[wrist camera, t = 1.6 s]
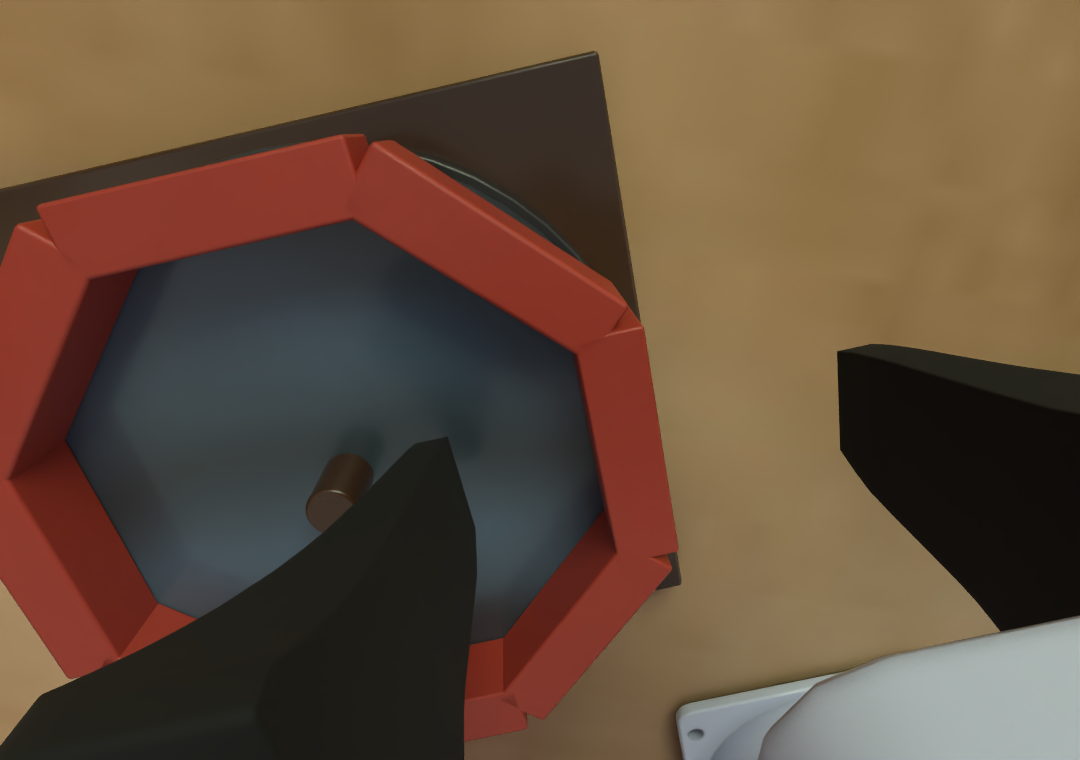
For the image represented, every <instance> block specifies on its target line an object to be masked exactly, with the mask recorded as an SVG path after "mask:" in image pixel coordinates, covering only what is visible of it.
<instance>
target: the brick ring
mask: <svg viewBox="0 0 1080 760" xmlns="http://www.w3.org/2000/svg"><path fill="white" fill-rule="evenodd" d="M36 208H37V212H38V214H39V216H40V218H41V219H39V220H34V221H29V222H24V223H19V224H18V225H16V226H15V228H14V230H13V233H12V236H11V238H10V241H9V244H8V247H7V250H6V252H5V255H4V258H3V261H2V264H1V267H0V579H1V581H2V582H3V584H4V585H5V587H6V588H7V589H8V591H9V592H10V594H11V595H12V597H13V598H14V600H15V601H16V603H17V604H18V606H19V607H20V609H21V610H22V612H23V613H24V615H25V616H26V618H27V619H28V620H29V622H30V623H31V625H32V626H33V628H34V629H35V631H36V632H37V634H38V635H39V637H40V638H41V640H42V641H43V643H44V644H45V646H46V647H47V649H48V650H49V651H50V653H51V654H52V656H53V657H54V659H55V660H56V662H57V663H58V665H59V666H60V668H61V669H62V671H63V672H64V674H65V675H66V677H67V678H69V679H73V678H78V677H82V676H85V675H87V674H89V673H91V672H93V671H95V670H98V669H100V668H102V667H104V666H106V665H108V664H111V663H113V662H115V661H117V660H119V659H121V658H124V657H126V656H128V655H130V654H132V653H134V652H136V651H138V650H140V649H142V648H144V647H146V646H148V645H150V644H152V643H154V642H156V641H158V640H160V639H161V638H163V637H165V636H167V635H169V634H171V633H173V632H175V631H177V630H178V629H180V628H182V627H184V626H186V625H188V624H189V623H191V622H193V621H195V620H196V618H194V617H191V616H189V615H186V614H184V613H181V612H179V611H177V610H174V609H172V608H169V607H167V606H164V605H162V604H159V603H158V602H157V601H156V599H155V597H154V595H153V594H152V592H151V590H150V588H149V587H148V585H147V583H146V581H145V580H144V578H143V576H142V574H141V573H140V571H139V569H138V567H137V565H136V564H135V562H134V560H133V558H132V557H131V555H130V553H129V551H128V550H127V548H126V546H125V544H124V543H123V541H122V539H121V537H120V536H119V534H118V532H117V530H116V528H115V527H114V525H113V523H112V521H111V520H110V518H109V516H108V514H107V513H106V511H105V509H104V507H103V506H102V504H101V502H100V500H99V499H98V497H97V495H96V493H95V491H94V490H93V488H92V486H91V484H90V483H89V481H88V479H87V477H86V476H85V474H84V472H83V470H82V469H81V467H80V465H79V463H78V462H77V460H76V458H75V456H74V454H73V453H72V451H71V449H70V447H69V446H68V444H67V442H66V440H65V438H66V436H67V433H68V431H69V429H70V427H71V424H72V422H73V420H74V417H75V415H76V413H77V410H78V408H79V406H80V403H81V401H82V399H83V396H84V394H85V392H86V389H87V387H88V385H89V382H90V380H91V378H92V375H93V373H94V371H95V368H96V366H97V364H98V361H99V359H100V357H101V354H102V352H103V350H104V347H105V345H106V343H107V340H108V338H109V336H110V333H111V331H112V329H113V327H114V324H115V322H116V320H117V317H118V315H119V313H120V310H121V308H122V306H123V303H124V301H125V299H126V296H127V294H128V292H129V289H130V287H131V285H132V282H133V280H134V278H135V275H136V273H137V271H138V269H140V268H145V267H149V266H153V265H158V264H162V263H167V262H171V261H175V260H180V259H184V258H189V257H193V256H197V255H202V254H206V253H211V252H215V251H219V250H224V249H228V248H232V247H237V246H241V245H246V244H250V243H254V242H259V241H263V240H268V239H272V238H276V237H281V236H285V235H289V234H294V233H298V232H303V231H307V230H311V229H316V228H320V227H325V226H329V225H333V224H338V223H342V222H347V221H351V220H354V221H355V222H357V223H359V224H360V225H362V226H364V227H365V228H367V229H368V230H370V231H372V232H373V233H375V234H377V235H378V236H380V237H382V238H383V239H385V240H387V241H388V242H390V243H392V244H393V245H395V246H397V247H398V248H400V249H402V250H403V251H405V252H407V253H408V254H410V255H412V256H413V257H415V258H417V259H418V260H420V261H421V262H423V263H425V264H426V265H428V266H430V267H431V268H433V269H435V270H436V271H438V272H440V273H441V274H443V275H445V276H446V277H448V278H450V279H451V280H453V281H455V282H456V283H458V284H460V285H461V286H463V287H465V288H466V289H468V290H470V291H471V292H473V293H474V294H476V295H478V296H479V297H481V298H483V299H484V300H486V301H488V302H489V303H491V304H493V305H494V306H496V307H498V308H499V309H501V310H503V311H504V312H506V313H508V314H509V315H511V316H513V317H514V318H516V319H518V320H519V321H521V322H523V323H524V324H526V325H527V326H529V327H531V328H532V329H534V330H536V331H537V332H539V333H541V334H542V335H544V336H546V337H547V338H549V339H551V340H552V341H554V342H556V343H557V344H559V345H561V346H562V347H564V348H566V349H567V350H569V351H571V352H572V354H573V359H574V363H575V368H576V373H577V378H578V383H579V388H580V393H581V398H582V402H583V407H584V412H585V417H586V422H587V427H588V432H589V437H590V441H591V446H592V451H593V456H594V461H595V466H596V471H597V476H598V480H599V485H600V490H601V495H602V500H603V505H604V510H603V511H602V513H601V514H600V515H599V516H598V518H597V519H596V520H595V522H594V523H593V524H592V525H591V527H590V528H589V529H588V530H587V532H586V533H585V534H584V536H583V537H582V538H581V539H580V541H579V542H578V543H577V545H576V546H575V547H574V548H573V550H572V551H571V552H570V553H569V555H568V556H567V557H566V559H565V560H564V561H563V562H562V564H561V565H560V566H559V568H558V569H557V570H556V571H555V573H554V574H553V575H552V576H551V578H550V579H549V580H548V582H547V583H546V584H545V585H544V587H543V588H542V589H541V591H540V592H539V593H538V594H537V596H536V597H535V598H534V599H533V601H532V602H531V603H530V605H529V606H528V607H527V608H526V610H525V611H524V612H523V614H522V615H521V616H520V617H519V619H518V620H517V621H516V622H515V624H514V625H513V626H512V628H511V629H510V630H509V631H508V633H507V634H506V635H505V637H504V638H500V639H495V640H490V641H485V642H480V643H476V644H471V645H470V649H469V658H468V667H467V677H466V688H465V704H464V742H466V741H471V740H476V739H481V738H486V737H491V736H495V735H500V734H505V733H510V732H515V731H520V730H525V729H527V726H528V724H527V714H530V715H532V716H534V717H537V718H539V719H545V717H546V716H547V715H548V714H549V713H550V712H551V710H552V709H553V708H554V707H555V706H556V705H557V703H558V702H559V701H560V700H561V699H562V698H563V696H564V695H565V694H566V693H567V692H568V691H569V689H570V688H571V687H572V686H573V685H574V684H575V682H576V681H577V680H578V679H579V678H580V677H581V675H582V674H583V673H584V672H585V671H586V670H587V668H588V667H589V666H590V665H591V664H592V663H593V661H594V660H595V659H596V658H597V657H598V656H599V654H600V653H601V652H602V651H603V650H604V649H605V647H606V646H607V645H608V644H609V643H610V642H611V640H612V639H613V638H614V637H615V636H616V635H617V633H618V632H619V631H620V630H621V629H622V628H623V626H624V625H625V624H626V623H627V622H628V621H629V619H630V618H631V617H632V616H633V615H634V614H635V612H636V611H637V610H638V609H639V608H640V607H641V605H642V604H643V603H644V602H645V601H646V600H647V598H648V597H649V596H650V595H651V594H652V593H653V591H654V590H655V589H656V588H657V587H658V586H659V584H660V583H661V582H662V581H663V580H664V579H665V577H666V576H667V575H668V574H669V573H670V572H671V570H672V566H671V564H670V561H669V559H668V556H667V554H669V553H674V552H677V551H678V543H677V536H676V530H675V524H674V517H673V511H672V504H671V498H670V492H669V485H668V479H667V472H666V466H665V460H664V453H663V447H662V440H661V434H660V428H659V421H658V415H657V408H656V402H655V395H654V389H653V383H652V376H651V370H650V363H649V357H648V351H647V344H646V338H645V331H644V327H643V326H642V324H641V323H640V321H639V320H638V319H637V317H636V316H635V314H634V313H633V312H632V310H631V309H630V307H629V306H628V305H627V303H626V301H625V300H624V299H623V297H622V296H621V294H620V293H619V292H618V290H617V289H616V287H615V286H614V285H613V283H612V282H611V281H609V280H608V279H606V278H604V277H603V276H601V275H600V274H598V273H597V272H595V271H594V270H592V269H591V268H589V267H588V266H586V265H584V264H583V263H581V262H580V261H578V260H577V259H575V258H574V257H572V256H571V255H569V254H568V253H566V252H564V251H563V250H561V249H560V248H558V247H557V246H555V245H554V244H552V243H551V242H549V241H548V240H546V239H544V238H543V237H541V236H540V235H538V234H537V233H535V232H534V231H532V230H531V229H529V228H528V227H526V226H524V225H523V224H521V223H520V222H518V221H517V220H515V219H514V218H512V217H511V216H509V215H507V214H506V213H504V212H503V211H501V210H500V209H498V208H497V207H495V206H494V205H492V204H491V203H489V202H487V201H486V200H484V199H483V198H481V197H480V196H478V195H477V194H475V193H474V192H472V191H471V190H469V189H467V188H466V187H464V186H463V185H461V184H460V183H458V182H457V181H455V180H454V179H452V178H451V177H449V176H447V175H446V174H444V173H443V172H441V171H440V170H438V169H437V168H435V167H434V166H432V165H431V164H429V163H427V162H426V161H424V160H423V159H421V158H420V157H418V156H417V155H415V154H414V153H412V152H411V151H409V150H407V149H406V148H404V147H403V146H401V145H400V144H398V143H397V142H395V141H392V140H385V141H376V142H373V143H371V144H370V145H369V146H368V142H367V139H366V137H365V135H364V134H341V135H335V136H331V137H327V138H322V139H318V140H314V141H310V142H305V143H301V144H297V145H292V146H288V147H284V148H279V149H275V150H271V151H266V152H262V153H258V154H253V155H249V156H245V157H240V158H236V159H232V160H228V161H223V162H219V163H215V164H210V165H206V166H202V167H197V168H193V169H189V170H184V171H180V172H176V173H171V174H167V175H163V176H158V177H154V178H150V179H146V180H141V181H137V182H133V183H128V184H124V185H120V186H115V187H111V188H107V189H102V190H98V191H94V192H89V193H85V194H81V195H76V196H72V197H68V198H64V199H59V200H55V201H51V202H46V203H42V204H39V205H38V206H37V207H36Z"/></svg>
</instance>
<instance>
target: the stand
mask: <svg viewBox="0 0 1080 760" xmlns="http://www.w3.org/2000/svg"><path fill="white" fill-rule="evenodd" d="M341 134H364V135H365V137H366V139H367V142H368V146H369V145H370V144H371V143H373V142H376V141H385V140H392V141H395V142H397V143H398V144H400V145H401V146H403V147H404V148H406V149H407V150H409V151H411V152H412V153H414V154H415V155H417V156H418V157H420V158H421V159H423V160H424V161H426V162H427V163H429V164H431V165H432V166H434V167H435V168H437V169H438V170H440V171H441V172H443V173H444V174H446V175H447V176H449V177H451V178H452V179H454V180H455V181H457V182H458V183H460V184H461V185H463V186H464V187H466V188H467V189H469V190H471V191H472V192H474V193H475V194H477V195H478V196H480V197H481V198H483V199H484V200H486V201H487V202H489V203H491V204H492V205H494V206H495V207H497V208H498V209H500V210H501V211H503V212H504V213H506V214H507V215H509V216H511V217H512V218H514V219H515V220H517V221H518V222H520V223H521V224H523V225H524V226H526V227H528V228H529V229H531V230H532V231H534V232H535V233H537V234H538V235H540V236H541V237H543V238H544V239H546V240H548V241H549V242H551V243H552V244H554V245H555V246H557V247H558V248H560V249H561V250H563V251H564V252H566V253H568V254H569V255H571V256H572V257H574V258H575V259H577V260H578V261H580V262H581V263H583V264H584V265H586V266H588V267H589V268H591V269H592V270H594V271H595V272H597V273H598V274H600V275H601V276H603V277H604V278H606V279H608V280H609V281H611V282H612V283H613V285H614V286H615V287H616V289H617V290H618V292H619V293H620V294H621V296H622V297H623V299H624V300H625V301H626V303H627V305H628V306H629V307H630V309H631V310H632V312H633V313H634V314H635V316H636V317H637V319H638V320H639V321H640V323H641V320H640V314H639V308H638V301H637V295H636V289H635V282H634V276H633V270H632V263H631V257H630V251H629V244H628V238H627V232H626V225H625V219H624V213H623V206H622V200H621V193H620V187H619V181H618V174H617V168H616V162H615V155H614V149H613V143H612V136H611V130H610V124H609V117H608V111H607V105H606V98H605V92H604V86H603V79H602V73H601V67H600V60H599V55H598V53H597V52H595V51H591V52H587V53H583V54H579V55H574V56H570V57H566V58H561V59H557V60H553V61H549V62H544V63H540V64H536V65H531V66H527V67H523V68H518V69H514V70H510V71H506V72H501V73H497V74H493V75H488V76H484V77H480V78H476V79H471V80H467V81H463V82H458V83H454V84H450V85H445V86H441V87H437V88H433V89H428V90H424V91H420V92H415V93H411V94H407V95H402V96H398V97H394V98H390V99H385V100H381V101H377V102H372V103H368V104H364V105H360V106H355V107H351V108H347V109H342V110H338V111H334V112H329V113H325V114H321V115H317V116H312V117H308V118H304V119H299V120H295V121H291V122H286V123H282V124H278V125H274V126H269V127H265V128H261V129H256V130H252V131H248V132H244V133H239V134H235V135H231V136H226V137H222V138H218V139H213V140H209V141H205V142H201V143H196V144H192V145H188V146H183V147H179V148H175V149H171V150H166V151H162V152H158V153H153V154H149V155H145V156H140V157H136V158H132V159H128V160H123V161H119V162H115V163H110V164H106V165H102V166H97V167H93V168H89V169H85V170H80V171H76V172H72V173H67V174H63V175H59V176H55V177H50V178H46V179H42V180H37V181H33V182H29V183H24V184H20V185H16V186H12V187H7V188H3V189H0V267H1V264H2V261H3V258H4V255H5V252H6V250H7V247H8V244H9V241H10V238H11V236H12V233H13V230H14V228H15V226H16V225H18V224H19V223H24V222H29V221H34V220H39V219H41V218H40V216H39V214H38V212H37V208H36V207H37V206H38V205H39V204H42V203H46V202H51V201H55V200H59V199H64V198H68V197H72V196H76V195H81V194H85V193H89V192H94V191H98V190H102V189H107V188H111V187H115V186H120V185H124V184H128V183H133V182H137V181H141V180H146V179H150V178H154V177H158V176H163V175H167V174H171V173H176V172H180V171H184V170H189V169H193V168H197V167H202V166H206V165H210V164H215V163H219V162H223V161H228V160H232V159H236V158H240V157H245V156H249V155H253V154H258V153H262V152H266V151H271V150H275V149H279V148H284V147H288V146H292V145H297V144H301V143H305V142H310V141H314V140H318V139H322V138H327V137H331V136H335V135H341ZM447 436H448V439H449V442H450V446H451V449H452V452H453V455H454V459H455V462H456V465H457V469H458V472H459V475H460V478H461V482H462V485H463V488H464V492H465V495H466V498H467V502H468V505H469V508H470V511H471V515H472V518H473V521H474V525H475V528H476V550H477V582H476V592H475V602H474V612H473V621H472V630H471V640H470V645H471V644H476V643H480V642H485V641H490V640H495V639H500V638H504V637H505V635H506V634H507V633H508V631H509V630H510V629H511V628H512V626H513V625H514V624H515V622H516V621H517V620H518V619H519V617H520V616H521V615H522V614H523V612H524V611H525V610H526V608H527V607H528V606H529V605H530V603H531V602H532V601H533V599H534V598H535V597H536V596H537V594H538V593H539V592H540V591H541V589H542V588H543V587H544V585H545V584H546V583H547V582H548V580H549V579H550V578H551V576H552V575H553V574H554V573H555V571H556V570H557V569H558V568H559V566H560V565H561V564H562V562H563V561H564V560H565V559H566V557H567V556H568V555H569V553H570V552H571V551H572V550H573V548H574V547H575V546H576V545H577V543H578V542H579V541H580V539H581V538H582V537H583V536H584V534H585V533H586V532H587V530H588V529H589V528H590V527H591V525H592V524H593V523H594V522H595V520H596V519H597V518H598V516H599V515H600V514H601V513H602V511H603V510H604V505H603V500H602V495H601V490H600V485H599V480H598V476H597V471H596V466H595V461H594V456H593V451H592V446H591V441H590V437H589V432H588V427H587V422H586V417H585V412H584V407H583V402H582V398H581V393H580V388H579V383H578V378H577V373H576V368H575V363H574V359H573V354H572V352H571V351H569V350H567V349H566V348H564V347H562V346H561V345H559V344H557V343H556V342H554V341H552V340H551V339H549V338H547V337H546V336H544V335H542V334H541V333H539V332H537V331H536V330H534V329H532V328H531V327H529V326H527V325H526V324H524V323H523V322H521V321H519V320H518V319H516V318H514V317H513V316H511V315H509V314H508V313H506V312H504V311H503V310H501V309H499V308H498V307H496V306H494V305H493V304H491V303H489V302H488V301H486V300H484V299H483V298H481V297H479V296H478V295H476V294H474V293H473V292H471V291H470V290H468V289H466V288H465V287H463V286H461V285H460V284H458V283H456V282H455V281H453V280H451V279H450V278H448V277H446V276H445V275H443V274H441V273H440V272H438V271H436V270H435V269H433V268H431V267H430V266H428V265H426V264H425V263H423V262H421V261H420V260H418V259H417V258H415V257H413V256H412V255H410V254H408V253H407V252H405V251H403V250H402V249H400V248H398V247H397V246H395V245H393V244H392V243H390V242H388V241H387V240H385V239H383V238H382V237H380V236H378V235H377V234H375V233H373V232H372V231H370V230H368V229H367V228H365V227H364V226H362V225H360V224H359V223H357V222H355V221H354V220H351V221H347V222H342V223H338V224H333V225H329V226H325V227H320V228H316V229H311V230H307V231H303V232H298V233H294V234H289V235H285V236H281V237H276V238H272V239H268V240H263V241H259V242H254V243H250V244H246V245H241V246H237V247H232V248H228V249H224V250H219V251H215V252H211V253H206V254H202V255H197V256H193V257H189V258H184V259H180V260H175V261H171V262H167V263H162V264H158V265H153V266H149V267H145V268H140V269H138V271H137V273H136V275H135V278H134V280H133V282H132V285H131V287H130V289H129V292H128V294H127V296H126V299H125V301H124V303H123V306H122V308H121V310H120V313H119V315H118V317H117V320H116V322H115V324H114V327H113V329H112V331H111V333H110V336H109V338H108V340H107V343H106V345H105V347H104V350H103V352H102V354H101V357H100V359H99V361H98V364H97V366H96V368H95V371H94V373H93V375H92V378H91V380H90V382H89V385H88V387H87V389H86V392H85V394H84V396H83V399H82V401H81V403H80V406H79V408H78V410H77V413H76V415H75V417H74V420H73V422H72V424H71V427H70V429H69V431H68V433H67V436H66V438H65V440H66V442H67V444H68V446H69V447H70V449H71V451H72V453H73V454H74V456H75V458H76V460H77V462H78V463H79V465H80V467H81V469H82V470H83V472H84V474H85V476H86V477H87V479H88V481H89V483H90V484H91V486H92V488H93V490H94V491H95V493H96V495H97V497H98V499H99V500H100V502H101V504H102V506H103V507H104V509H105V511H106V513H107V514H108V516H109V518H110V520H111V521H112V523H113V525H114V527H115V528H116V530H117V532H118V534H119V536H120V537H121V539H122V541H123V543H124V544H125V546H126V548H127V550H128V551H129V553H130V555H131V557H132V558H133V560H134V562H135V564H136V565H137V567H138V569H139V571H140V573H141V574H142V576H143V578H144V580H145V581H146V583H147V585H148V587H149V588H150V590H151V592H152V594H153V595H154V597H155V599H156V601H157V602H158V603H159V604H162V605H164V606H167V607H169V608H172V609H174V610H177V611H179V612H181V613H184V614H186V615H189V616H191V617H194V618H196V619H198V618H200V617H202V616H203V615H205V614H207V613H209V612H210V611H212V610H214V609H215V608H217V607H219V606H221V605H222V604H224V603H225V602H227V601H228V600H230V599H231V598H233V597H234V596H236V595H238V594H239V593H241V592H242V591H244V590H245V589H247V588H248V587H250V586H251V585H253V584H254V583H256V582H258V581H259V580H261V579H262V578H264V577H265V576H267V575H268V574H270V573H271V572H273V571H274V570H275V569H277V568H278V567H280V566H281V565H282V564H284V563H285V562H286V561H288V560H289V559H290V558H292V557H293V556H294V555H296V554H297V553H298V552H300V551H301V550H302V549H303V548H305V547H306V546H307V545H308V544H310V543H311V542H312V541H313V540H315V539H316V538H317V537H318V536H319V535H321V534H322V533H323V532H324V531H325V530H326V529H328V528H329V527H330V526H331V525H332V524H333V523H334V522H335V521H336V520H337V519H338V518H339V517H340V516H342V515H343V514H344V513H345V512H346V511H347V510H348V509H349V508H350V507H351V506H352V505H353V504H354V503H356V502H357V501H358V500H359V499H360V498H361V497H362V496H363V495H364V494H365V493H366V492H367V491H368V490H369V489H370V488H371V487H372V486H373V485H374V484H375V483H376V482H377V481H378V480H379V479H380V477H381V476H382V475H383V474H384V473H385V472H386V471H387V470H388V469H389V468H390V467H391V466H392V465H393V464H394V463H395V462H396V461H397V460H398V459H399V458H400V457H401V456H402V455H403V454H404V453H405V452H406V451H407V450H408V449H409V448H410V447H412V446H413V445H414V444H415V443H420V442H424V441H429V440H433V439H438V438H443V437H447ZM667 556H668V559H669V561H670V564H671V566H672V570H671V572H670V573H669V574H668V575H667V576H666V577H665V579H664V580H663V581H662V582H661V583H660V584H659V586H658V587H657V588H656V589H655V590H658V589H663V588H668V587H673V586H677V585H680V584H681V574H680V568H679V562H678V555H677V552H674V553H669V554H667Z"/></svg>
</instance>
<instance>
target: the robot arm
mask: <svg viewBox="0 0 1080 760" xmlns="http://www.w3.org/2000/svg"><path fill="white" fill-rule="evenodd" d="M837 360H838V392H839V425H840V450H841V452H842V453H843V455H844V456H845V457H846V459H847V460H848V462H849V463H850V465H851V466H852V468H853V469H854V471H855V472H856V473H857V475H858V476H859V477H860V479H861V480H862V481H863V483H864V484H865V485H866V487H867V488H868V489H869V491H870V492H871V493H872V494H873V495H874V496H875V497H876V498H877V499H878V500H879V501H880V502H881V503H882V505H883V506H884V507H885V508H886V509H887V510H888V511H889V512H890V513H891V514H892V515H893V516H894V517H895V518H896V519H897V520H898V521H899V522H900V523H901V524H902V525H903V526H904V527H905V528H906V529H907V530H908V531H909V532H910V533H911V534H912V535H913V536H914V537H915V538H916V539H917V540H918V541H919V542H920V543H921V544H922V545H923V546H924V547H925V548H926V549H927V550H928V551H929V552H930V553H931V554H932V555H933V556H934V557H935V558H936V559H937V560H938V561H939V562H940V564H941V565H942V566H943V567H944V568H945V569H946V570H947V571H948V572H949V573H950V574H951V575H952V576H953V577H954V578H955V579H956V580H957V581H958V582H959V583H960V584H961V585H962V586H963V587H964V588H965V589H966V591H967V592H968V593H969V594H970V595H971V596H972V597H973V598H974V599H975V600H976V602H977V603H978V604H979V605H980V606H981V608H982V609H983V610H984V611H985V613H986V614H987V615H988V616H989V618H990V619H991V620H992V621H993V623H994V624H995V625H996V626H997V628H998V629H999V630H1000V631H1001V632H997V633H992V634H987V635H982V636H978V637H973V638H968V639H963V640H958V641H953V642H948V643H943V644H939V645H934V646H929V647H924V648H919V649H914V650H909V651H904V652H900V653H895V654H890V655H885V656H882V657H879V658H877V659H874V660H872V661H869V662H867V663H864V664H862V665H859V666H857V667H854V668H852V669H849V670H847V671H844V672H839V673H835V674H830V675H825V676H820V677H815V678H810V679H805V680H800V681H795V682H790V683H786V684H781V685H776V686H771V687H766V688H761V689H756V690H751V691H746V692H741V693H737V694H732V695H727V696H722V697H717V698H712V699H707V700H702V701H697V702H692V703H688V704H685V705H683V706H682V707H680V708H679V709H678V711H677V712H676V723H677V728H678V734H679V739H680V745H681V750H682V756H683V760H1080V375H1079V374H1070V373H1063V372H1056V371H1049V370H1042V369H1034V368H1027V367H1021V366H1014V365H1008V364H1002V363H996V362H990V361H984V360H978V359H973V358H967V357H961V356H956V355H950V354H945V353H939V352H933V351H927V350H922V349H916V348H909V347H902V346H894V345H884V344H869V345H865V346H860V347H855V348H851V349H846V350H842V351H837ZM476 582H477V550H476V528H475V525H474V521H473V518H472V515H471V511H470V508H469V505H468V502H467V498H466V495H465V492H464V488H463V485H462V482H461V478H460V475H459V472H458V469H457V465H456V462H455V459H454V455H453V452H452V449H451V446H450V442H449V439H448V436H447V437H443V438H438V439H433V440H429V441H424V442H420V443H415V444H414V445H413V446H412V447H410V448H409V449H408V450H407V451H406V452H405V453H404V454H403V455H402V456H401V457H400V458H399V459H398V460H397V461H396V462H395V463H394V464H393V465H392V466H391V467H390V468H389V469H388V470H387V471H386V472H385V473H384V474H383V475H382V476H381V477H380V479H379V480H378V481H377V482H376V483H375V484H374V485H373V486H372V487H371V488H370V489H369V490H368V491H367V492H366V493H365V494H364V495H363V496H362V497H361V498H360V499H359V500H358V501H357V502H356V503H354V504H353V505H352V506H351V507H350V508H349V509H348V510H347V511H346V512H345V513H344V514H343V515H342V516H340V517H339V518H338V519H337V520H336V521H335V522H334V523H333V524H332V525H331V526H330V527H329V528H328V529H326V530H325V531H324V532H323V533H322V534H321V535H319V536H318V537H317V538H316V539H315V540H313V541H312V542H311V543H310V544H308V545H307V546H306V547H305V548H303V549H302V550H301V551H300V552H298V553H297V554H296V555H294V556H293V557H292V558H290V559H289V560H288V561H286V562H285V563H284V564H282V565H281V566H280V567H278V568H277V569H275V570H274V571H273V572H271V573H270V574H268V575H267V576H265V577H264V578H262V579H261V580H259V581H258V582H256V583H254V584H253V585H251V586H250V587H248V588H247V589H245V590H244V591H242V592H241V593H239V594H238V595H236V596H234V597H233V598H231V599H230V600H228V601H227V602H225V603H224V604H222V605H221V606H219V607H217V608H215V609H214V610H212V611H210V612H209V613H207V614H205V615H203V616H202V617H200V618H198V619H196V620H195V621H193V622H191V623H189V624H188V625H186V626H184V627H182V628H180V629H178V630H177V631H175V632H173V633H171V634H169V635H167V636H165V637H163V638H161V639H160V640H158V641H156V642H154V643H152V644H150V645H148V646H146V647H144V648H142V649H140V650H138V651H136V652H134V653H132V654H130V655H128V656H126V657H124V658H121V659H119V660H117V661H115V662H113V663H111V664H108V665H106V666H104V667H102V668H100V669H98V670H95V671H93V672H91V673H89V674H87V675H85V676H82V677H80V678H78V679H76V680H74V681H72V682H69V683H67V684H65V685H63V686H61V687H58V688H56V689H54V690H51V691H49V692H47V693H44V694H42V695H41V696H40V697H39V698H38V699H37V700H36V701H35V702H34V704H33V705H32V706H31V708H30V709H29V710H28V711H27V713H26V714H25V715H24V716H23V718H22V719H21V720H20V722H19V723H18V724H17V725H16V727H15V728H14V729H13V730H12V732H11V733H10V734H9V736H8V737H7V738H6V739H5V741H4V742H3V743H2V744H1V746H0V760H464V704H465V688H466V677H467V667H468V658H469V649H470V640H471V630H472V621H473V612H474V602H475V592H476Z"/></svg>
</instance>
